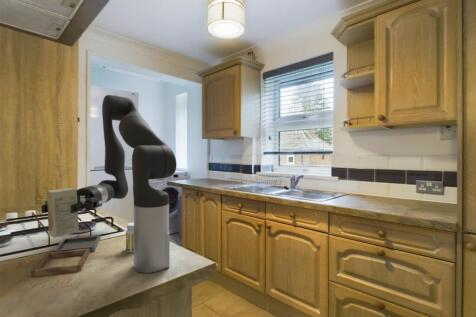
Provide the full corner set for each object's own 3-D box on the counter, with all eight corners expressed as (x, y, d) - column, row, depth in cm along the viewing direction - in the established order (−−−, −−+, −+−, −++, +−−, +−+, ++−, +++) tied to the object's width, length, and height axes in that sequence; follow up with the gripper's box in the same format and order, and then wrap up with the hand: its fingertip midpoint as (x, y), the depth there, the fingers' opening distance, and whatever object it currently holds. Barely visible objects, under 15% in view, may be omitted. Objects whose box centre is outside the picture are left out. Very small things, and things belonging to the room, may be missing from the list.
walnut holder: (89, 253, 80) (89, 248, 80) (80, 270, 69) (80, 265, 69) (48, 257, 76) (47, 252, 76) (31, 276, 65) (31, 271, 65)
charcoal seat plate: (100, 239, 92) (100, 235, 92) (94, 251, 81) (94, 247, 81) (63, 242, 88) (63, 238, 88) (52, 255, 78) (52, 251, 78)
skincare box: (73, 229, 76) (72, 187, 75) (79, 232, 73) (78, 188, 73) (46, 234, 71) (45, 190, 70) (52, 238, 68) (50, 191, 68)
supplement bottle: (144, 247, 85) (144, 221, 85) (137, 253, 81) (137, 226, 80) (130, 246, 86) (130, 221, 86) (122, 252, 81) (122, 225, 81)
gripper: (68, 185, 86) (29, 195, 69) (112, 186, 86) (84, 195, 70) (68, 208, 86) (30, 223, 70) (113, 208, 86) (85, 223, 70)
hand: (57, 209), depth 70 cm, fingers closed on skincare box, 7 cm apart
